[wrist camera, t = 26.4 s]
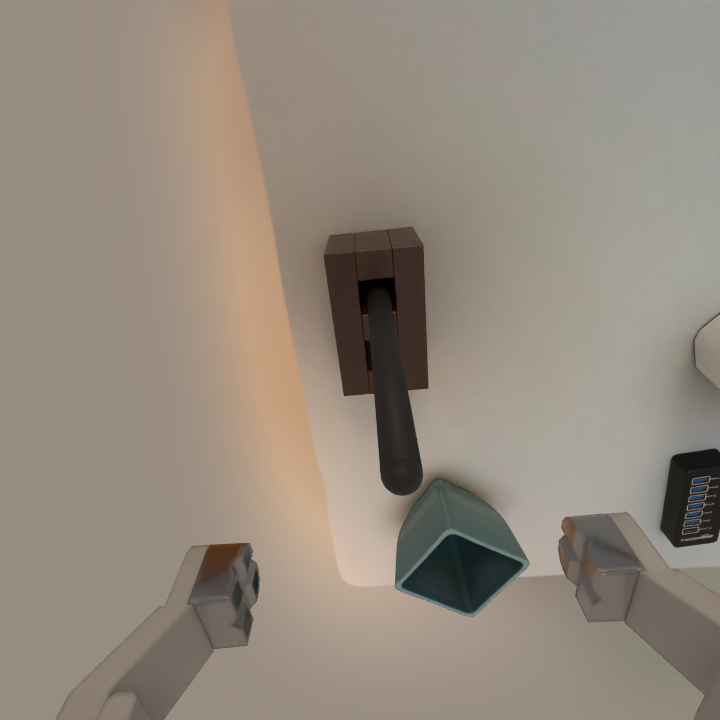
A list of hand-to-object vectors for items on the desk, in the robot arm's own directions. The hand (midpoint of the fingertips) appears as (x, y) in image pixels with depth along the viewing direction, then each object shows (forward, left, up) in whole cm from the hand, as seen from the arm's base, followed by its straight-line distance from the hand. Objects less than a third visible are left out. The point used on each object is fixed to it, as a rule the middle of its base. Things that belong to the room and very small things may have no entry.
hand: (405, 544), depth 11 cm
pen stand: (+2, -2, -26) cm, 26 cm away
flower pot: (+21, -15, -26) cm, 37 cm away
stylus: (0, 0, -26) cm, 26 cm away
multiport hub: (+41, +1, -26) cm, 48 cm away
